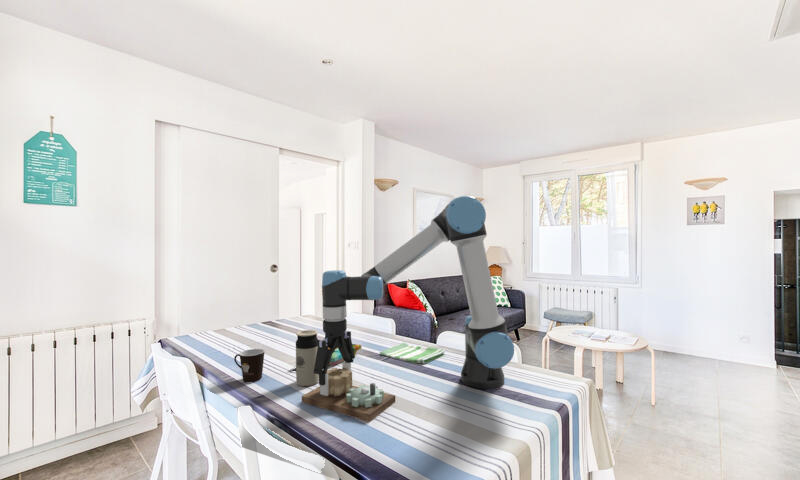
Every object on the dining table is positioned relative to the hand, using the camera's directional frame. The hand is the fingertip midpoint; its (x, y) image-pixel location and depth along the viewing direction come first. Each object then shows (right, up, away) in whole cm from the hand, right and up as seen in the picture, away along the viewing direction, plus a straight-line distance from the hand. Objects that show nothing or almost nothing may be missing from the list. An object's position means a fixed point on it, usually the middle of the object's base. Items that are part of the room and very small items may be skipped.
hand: (335, 388), depth 115 cm
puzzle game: (-6, -4, +41) cm, 42 cm away
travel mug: (-13, -4, +14) cm, 19 cm away
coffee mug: (-35, -4, +19) cm, 40 cm away
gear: (+10, -1, -6) cm, 12 cm away
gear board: (+4, -3, -2) cm, 6 cm away
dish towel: (+26, -4, +44) cm, 51 cm away
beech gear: (0, 0, 0) cm, 0 cm away
